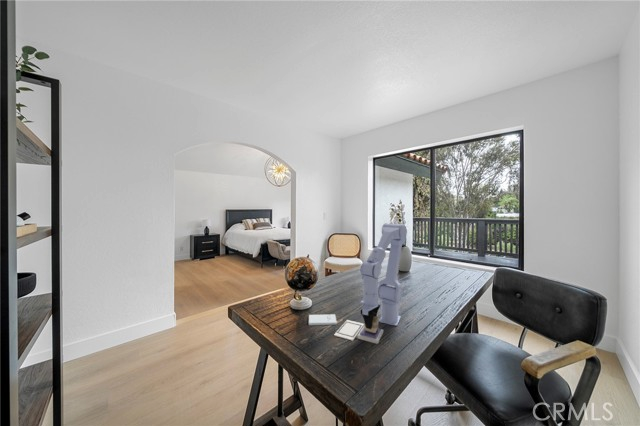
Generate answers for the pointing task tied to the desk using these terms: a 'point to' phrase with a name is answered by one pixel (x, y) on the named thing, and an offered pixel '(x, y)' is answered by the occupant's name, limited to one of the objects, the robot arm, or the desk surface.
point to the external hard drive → (322, 319)
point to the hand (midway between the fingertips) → (370, 325)
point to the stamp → (374, 326)
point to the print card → (349, 330)
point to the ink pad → (370, 336)
